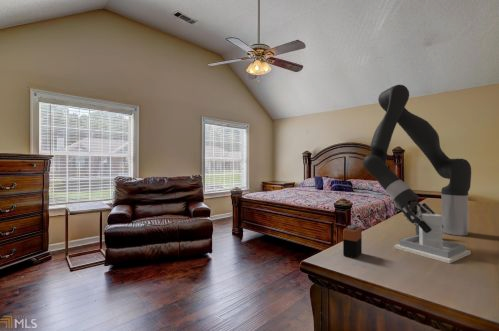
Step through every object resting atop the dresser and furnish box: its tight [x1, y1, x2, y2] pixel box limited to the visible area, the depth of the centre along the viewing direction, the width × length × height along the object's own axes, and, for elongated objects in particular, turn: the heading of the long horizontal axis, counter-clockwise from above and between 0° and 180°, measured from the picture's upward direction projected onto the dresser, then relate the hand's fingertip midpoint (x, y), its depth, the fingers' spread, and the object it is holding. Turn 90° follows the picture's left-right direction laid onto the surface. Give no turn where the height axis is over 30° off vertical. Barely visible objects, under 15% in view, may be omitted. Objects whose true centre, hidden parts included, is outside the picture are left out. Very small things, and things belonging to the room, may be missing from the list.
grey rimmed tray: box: [393, 234, 472, 264], centre depth 89 cm, size 16×17×3 cm
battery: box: [342, 223, 363, 259], centre depth 86 cm, size 4×7×10 cm, turn 141°
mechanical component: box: [403, 213, 419, 235], centre depth 108 cm, size 3×10×10 cm, turn 79°
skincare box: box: [419, 213, 443, 250], centre depth 89 cm, size 6×4×12 cm
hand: (435, 230), depth 88 cm, fingers open, 8 cm apart
